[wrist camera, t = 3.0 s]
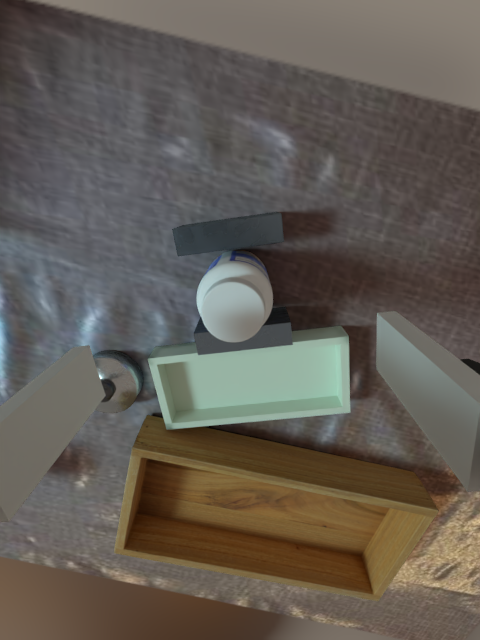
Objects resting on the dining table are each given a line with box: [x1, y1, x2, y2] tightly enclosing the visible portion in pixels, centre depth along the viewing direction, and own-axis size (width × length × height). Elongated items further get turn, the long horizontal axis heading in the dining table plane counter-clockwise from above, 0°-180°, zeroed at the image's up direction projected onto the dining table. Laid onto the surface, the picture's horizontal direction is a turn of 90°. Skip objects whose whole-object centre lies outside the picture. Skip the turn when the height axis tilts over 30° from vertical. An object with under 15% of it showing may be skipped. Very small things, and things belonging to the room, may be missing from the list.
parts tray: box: [148, 326, 350, 430], centre depth 31 cm, size 8×18×2 cm, turn 98°
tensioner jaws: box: [172, 212, 293, 355], centre depth 26 cm, size 10×8×4 cm
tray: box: [114, 415, 439, 601], centre depth 35 cm, size 31×15×6 cm, turn 76°
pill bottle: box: [197, 250, 273, 342], centre depth 24 cm, size 5×5×10 cm
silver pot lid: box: [93, 350, 143, 413], centre depth 31 cm, size 6×6×3 cm
